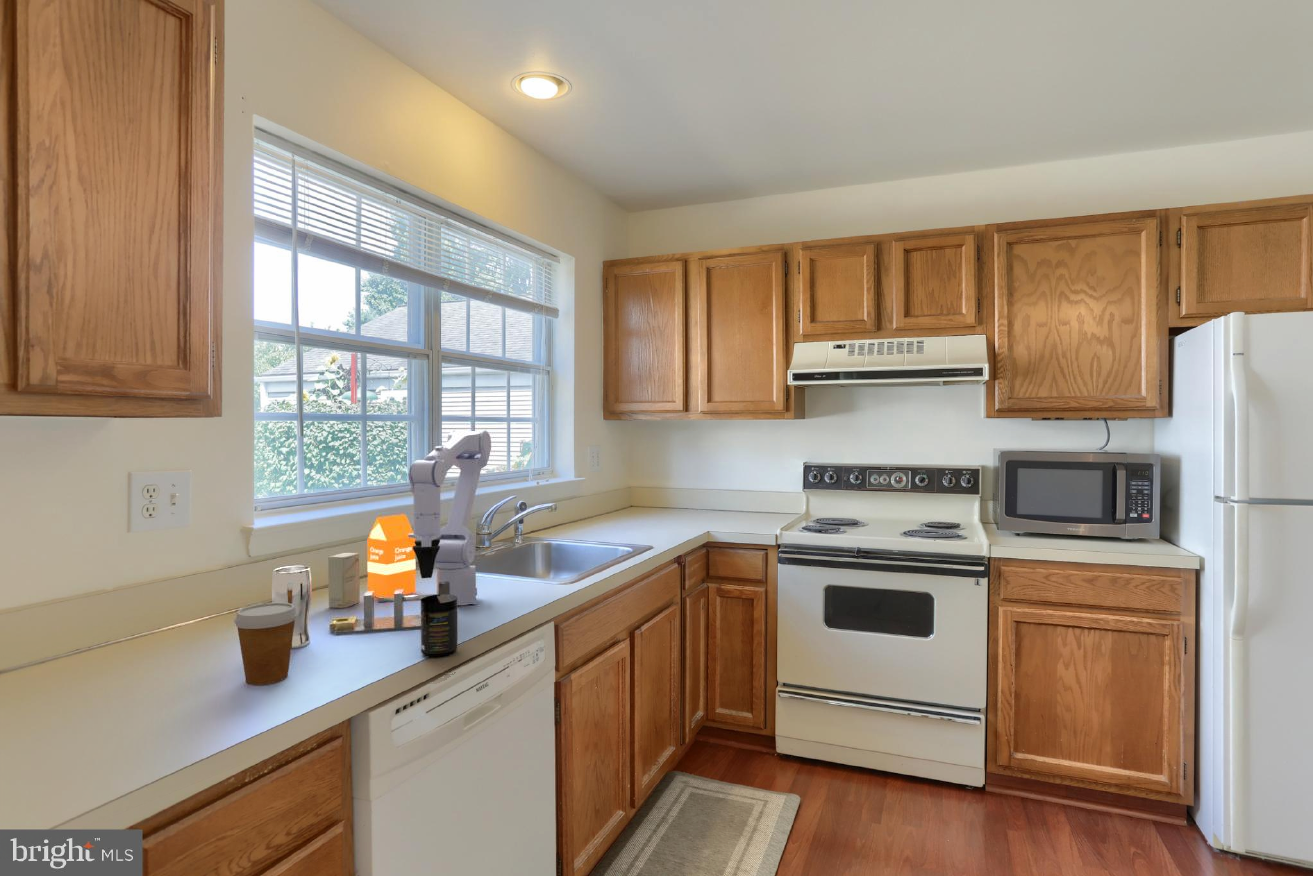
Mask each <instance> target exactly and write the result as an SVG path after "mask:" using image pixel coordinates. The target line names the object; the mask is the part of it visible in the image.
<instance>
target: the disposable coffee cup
mask: <svg viewBox="0 0 1313 876" xmlns="http://www.w3.org/2000/svg"><path fill="white" fill-rule="evenodd" d="M297 615H298V612H297V611H296V609H295V606H294V605H293V604H290V603H273V602H269V603H267V602H266V603H259V604H254V605H250V606H246V607H243V608H241V609H239V610H237V612H236V616H235V618H234V620H233V622H234V624H235V626H236V627H237V632H238V633H237V634H238V640H239V646H240V651H241V652H240V654H241V657H242V665H243V670H244V677H245V683H246V684H247V685H251V686H265V685H271V684H275V683H279V682H281V681H284V680H285V679H287V678H288V677H289V670H290V669H289V667H290V661H291V655H292V649H291V647H292V639H293V631H294V622H295V619H296V616H297Z"/></svg>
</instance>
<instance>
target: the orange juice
mask: <svg viewBox="0 0 1313 876" xmlns="http://www.w3.org/2000/svg"><path fill="white" fill-rule="evenodd" d="M410 533H414V530H413V529H412V526H411V524H410V522H409V519H408V517H407V515H406V514H405V513H403V514H395V515H387V516H381V517H380V516H379V517H376V520H375V522H374V524H373V526H372V529H371V530H370V533H369V535H368V537H367V563H366V564H367V591H374V597H375V596H376V598H380V597H394V593H395V590H398V589H403V594H405V595H408V594H412V593H411V592H413V593H416V554H415V552H414V550H413V546H416V545H415V543H414V542H415V541H416V539H415V538H408V534H410Z"/></svg>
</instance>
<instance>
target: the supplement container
mask: <svg viewBox="0 0 1313 876" xmlns="http://www.w3.org/2000/svg"><path fill="white" fill-rule="evenodd" d="M458 608H459V607H458V597H457V596H455V595H448V594H441V595H432V596H427V597H424V598H422V599H421V601H420V615H421V629H420V647H421V649H420V650H421V651H420V652H421V654H422V656H424V657H425V658H428V659H441V658H446V657H450V656H452V655H454V654H456V652H457V651H458V648H459V647H458V646H459V645H458V643H459V642H458V638H459V636H458V633H459V631H458V630H459V629H458V625H459V624H458Z"/></svg>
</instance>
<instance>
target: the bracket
mask: <svg viewBox="0 0 1313 876" xmlns="http://www.w3.org/2000/svg"><path fill="white" fill-rule="evenodd" d="M402 596H404V595H403V589H398V590H395V593H394V602H393V616H386V617H385V616H384V617H382V616H381V617H375V596H374V591H368V590H366V591H365V592H364V595H363V618H357V623H356V625H355V627H354V628H349V629H336V630H335V632H334V636H339V635H340V636H341V635H343V636H344V635H354V634H353V633H356V634H367V633H379V632H381V631H383V632H392V631H407V630H406V629H409V630H421V614H414V615H413V614H412V615H404V602H402Z"/></svg>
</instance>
